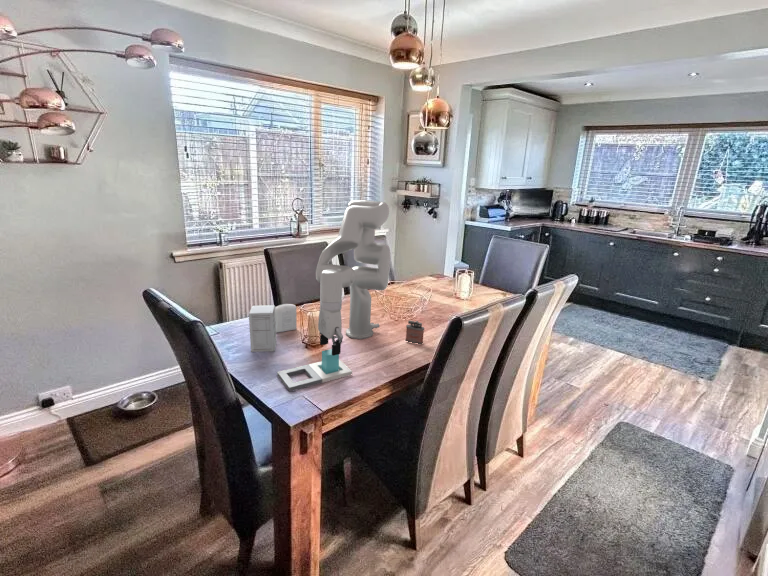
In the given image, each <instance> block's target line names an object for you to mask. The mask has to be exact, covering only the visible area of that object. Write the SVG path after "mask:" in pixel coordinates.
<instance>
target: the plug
mask: <svg viewBox="0 0 768 576" xmlns="http://www.w3.org/2000/svg"><path fill="white" fill-rule="evenodd" d="M339 360H340V354H338V355H334V356H333V355H332V348H330V349H326V350H322V351H321V361H322V368H321V370H322V371H323V372H324V373H325V374H330V373H333V372H337V371H340V370H339Z"/></svg>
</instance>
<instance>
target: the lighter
mask: <svg viewBox="0 0 768 576" xmlns="http://www.w3.org/2000/svg"><path fill="white" fill-rule="evenodd" d="M407 323H408V324H406V326H405V327H406V332H405V340H404V341H408V342H412V343H418V344H422V343H423V344H424V332H425V327H424V326H423V323H422V322H419V321H418V320H415V321H414V320H411V319H410V320H408V322H407Z"/></svg>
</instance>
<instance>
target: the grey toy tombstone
mask: <svg viewBox="0 0 768 576" xmlns="http://www.w3.org/2000/svg"><path fill="white" fill-rule="evenodd" d="M275 321H276V333H282V332H289V331H295V330H297V306H296V305H295V304H293V303H283V304H279V305H277V306H275Z"/></svg>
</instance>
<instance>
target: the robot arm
mask: <svg viewBox="0 0 768 576" xmlns="http://www.w3.org/2000/svg"><path fill="white" fill-rule="evenodd" d="M389 214H390V208H389V205H388V203H387V202H385V201H380V200H379V201H378V200H377V201H376V200H365V199H354V200H351V201H349V202H348V204H347V208H346V209H345V211H344V213H343V217H342V219H341V220H342V221H341V224H340V227H339V232H338V235H337V237H336V239H334V240H333V241H331V242H330V243H329V244H328V245H327V246H326V247H325V248H324V249H323V250H322V252H321V253H320V255H319V258H318V262H317V265H316V268H315V279H316V282H318V283H320V286H319V287H320V291H319V292H320V296H319V297H320V298H319V301H320V302H319V312H318V322H317V323H318V324H317V325H318V326H317V327H318V332H319V345H320V346H323V345H328V344H329V340H330V339H331V341H332V344H331V349H332V355H333V356H334V355H338V354H339V355H340V354H341V346H342V343H343V338H344V335H343V333H342V327H343V326H342V307H343V306H342V304H343V303H342V302H343V301H342V300H343V299H342V298H343V293H342V292H343V289H344V288H348V287H349V319H348V320H349V325H348V326H349V327H348V328H346V330H345V335H346V336H347V337H348V338H350V339H356V340H364V339H369V338H372V336H373V335H374V329H378V328H380V324H379V323H374V322H371V316H372V314H371V313H372V295H371V293H370V291H369V290H374V291H385V290H386V289H387V288H388V285H389V277H390V276H389V275H390V265H391V264H390V263H391V249H390V247H389V245H388V244H386V243H384V242H383V243H382V242H375V233H376V231H375V230H377V229H380V228H381V227H382V226H383V224H385V223H386V222H387V220H388V218H389V216H390V215H389ZM352 250H353V259H354V261H355V262H356V263H360V264H364V265H365V264H366V265H373V266H377V267H370V266H361V265H357V266H353V267H350V266H348V265H339V264H332V263H330V262H331V260H332V259H333V258H334V257H336V256H338V255H340V254H344V253H346V252H349V251H352ZM335 339H336V340H335Z"/></svg>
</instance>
